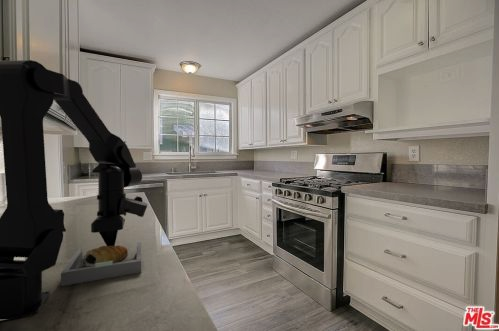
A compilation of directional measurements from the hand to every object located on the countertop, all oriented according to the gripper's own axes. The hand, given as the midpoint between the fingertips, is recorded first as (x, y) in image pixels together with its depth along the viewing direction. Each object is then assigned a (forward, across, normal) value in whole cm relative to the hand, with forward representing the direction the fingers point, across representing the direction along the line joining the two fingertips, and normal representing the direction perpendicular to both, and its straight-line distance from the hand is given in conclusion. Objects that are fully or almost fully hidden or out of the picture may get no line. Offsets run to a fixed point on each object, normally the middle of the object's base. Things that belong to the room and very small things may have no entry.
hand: (111, 249), depth 61 cm
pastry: (+1, -5, +1) cm, 5 cm away
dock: (+1, -8, 0) cm, 8 cm away
